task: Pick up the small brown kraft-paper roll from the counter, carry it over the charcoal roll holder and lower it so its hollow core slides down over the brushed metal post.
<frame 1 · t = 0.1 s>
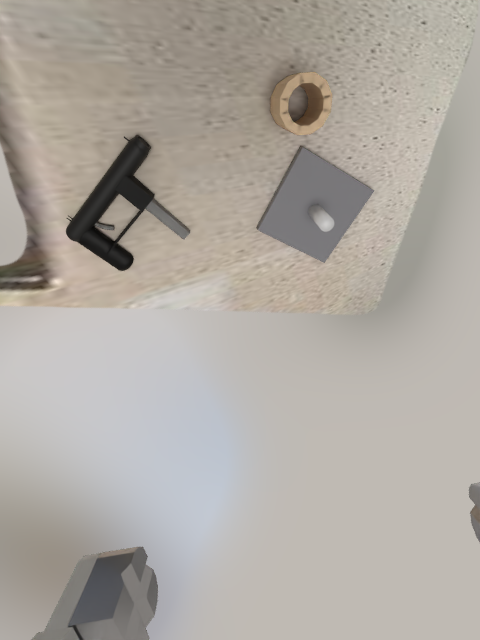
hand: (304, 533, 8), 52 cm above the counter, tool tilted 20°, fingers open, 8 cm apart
paper roll: (292, 103, 47), on the counter
black two-tone tubular device: (137, 214, 55), on the counter
roll holder: (312, 208, 55), on the counter
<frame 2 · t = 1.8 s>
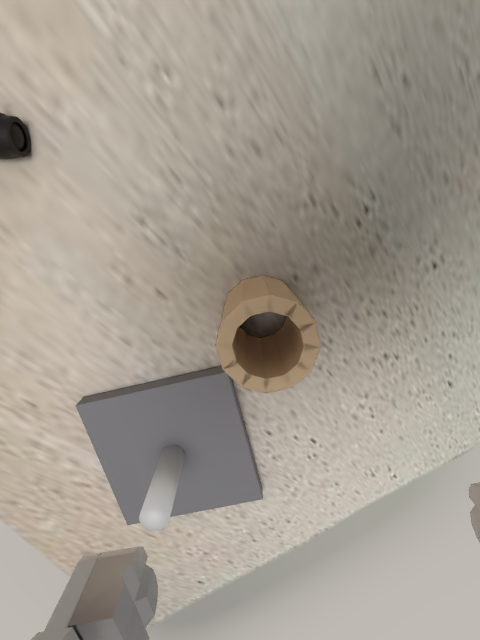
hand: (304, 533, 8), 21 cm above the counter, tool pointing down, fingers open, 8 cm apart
paper roll: (261, 313, 28), on the counter
roll holder: (176, 444, 32), on the counter
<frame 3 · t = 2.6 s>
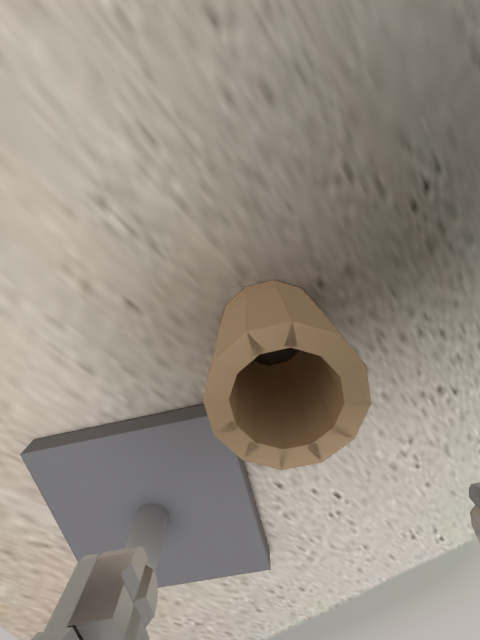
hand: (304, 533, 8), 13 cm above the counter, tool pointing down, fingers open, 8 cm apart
paper roll: (271, 332, 20), on the counter
roll holder: (158, 498, 25), on the counter
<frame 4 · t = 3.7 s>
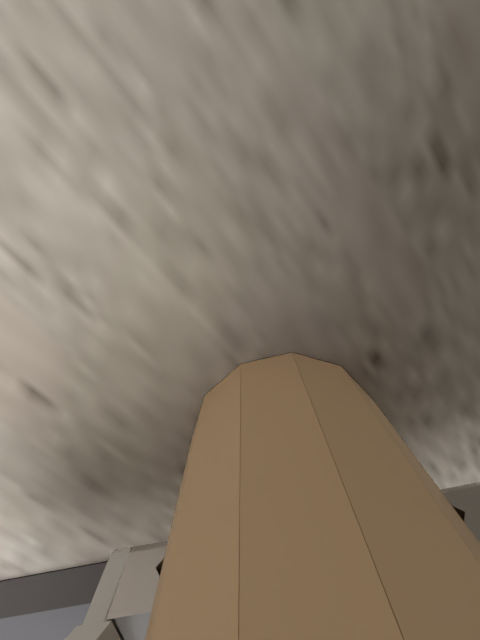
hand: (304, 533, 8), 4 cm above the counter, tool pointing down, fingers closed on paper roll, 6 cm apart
paper roll: (285, 439, 12), on the counter, touching gripper
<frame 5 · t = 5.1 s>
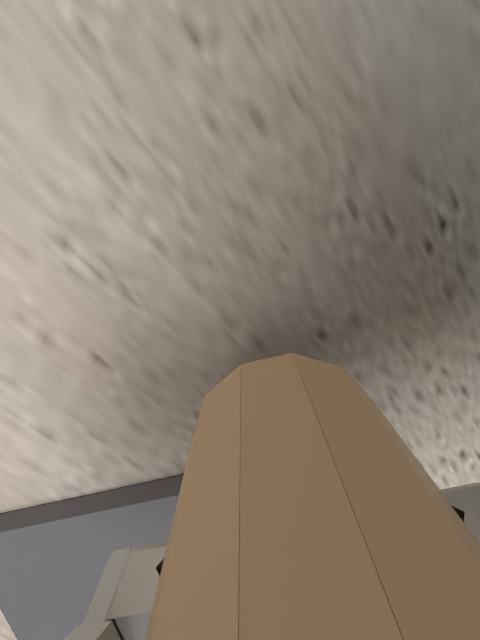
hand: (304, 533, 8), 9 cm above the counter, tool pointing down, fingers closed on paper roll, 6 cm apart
paper roll: (285, 439, 12), point 6 cm above the counter, touching gripper
roll holder: (132, 584, 21), on the counter
when the fingers open (7 cm above the counter, at t = 10.8 s): paper roll drops 1 cm, resting on roll holder.
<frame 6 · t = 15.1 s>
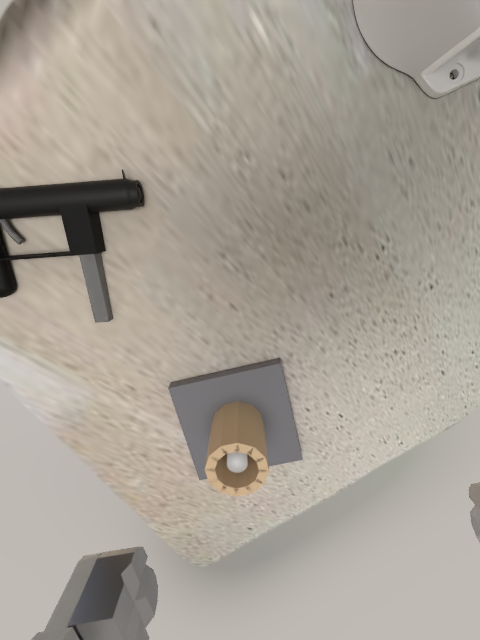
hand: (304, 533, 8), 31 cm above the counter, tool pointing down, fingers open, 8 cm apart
paper roll: (237, 424, 41), point 1 cm above the counter, touching roll holder
black two-tone tubular device: (67, 252, 38), on the counter
roll holder: (238, 418, 43), on the counter
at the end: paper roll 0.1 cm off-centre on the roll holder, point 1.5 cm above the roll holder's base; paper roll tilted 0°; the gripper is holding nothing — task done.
